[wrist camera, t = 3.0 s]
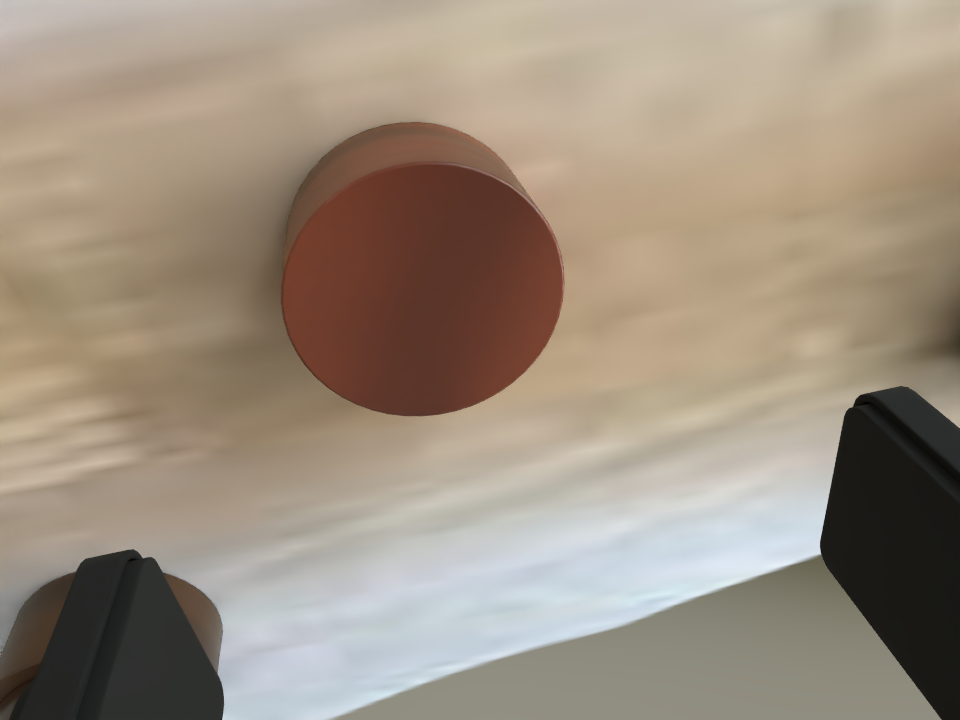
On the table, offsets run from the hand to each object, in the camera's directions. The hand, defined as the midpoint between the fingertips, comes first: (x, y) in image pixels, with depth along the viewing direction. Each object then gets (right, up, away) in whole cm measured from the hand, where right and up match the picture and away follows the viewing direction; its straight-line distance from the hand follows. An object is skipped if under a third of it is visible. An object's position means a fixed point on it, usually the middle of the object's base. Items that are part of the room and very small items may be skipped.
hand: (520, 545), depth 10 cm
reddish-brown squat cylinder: (-2, +5, +8) cm, 10 cm away
